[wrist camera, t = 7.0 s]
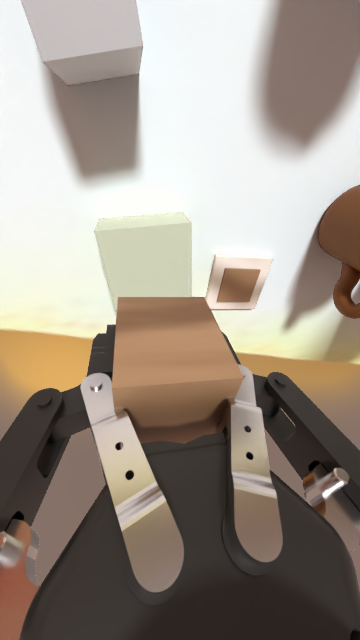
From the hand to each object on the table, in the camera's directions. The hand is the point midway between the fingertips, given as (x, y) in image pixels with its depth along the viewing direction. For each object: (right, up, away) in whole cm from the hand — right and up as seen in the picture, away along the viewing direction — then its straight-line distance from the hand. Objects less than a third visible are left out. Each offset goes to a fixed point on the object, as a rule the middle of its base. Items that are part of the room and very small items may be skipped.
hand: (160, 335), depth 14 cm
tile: (+8, +6, +14) cm, 17 cm away
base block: (-2, +8, +10) cm, 13 cm away
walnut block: (0, 0, 0) cm, 0 cm away
